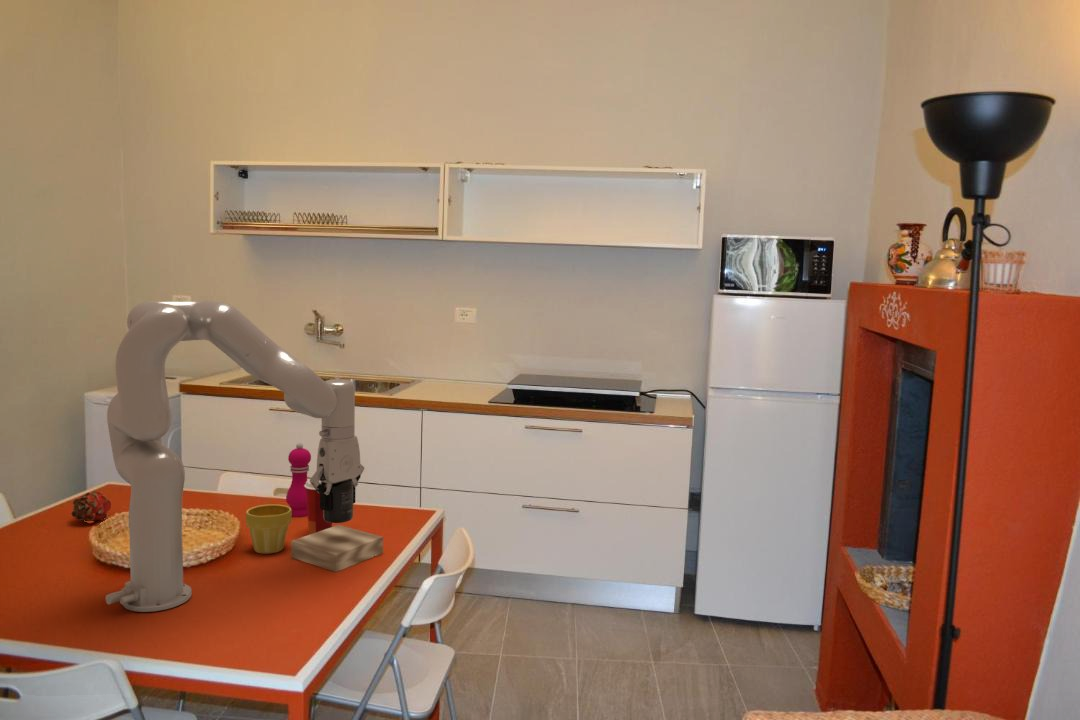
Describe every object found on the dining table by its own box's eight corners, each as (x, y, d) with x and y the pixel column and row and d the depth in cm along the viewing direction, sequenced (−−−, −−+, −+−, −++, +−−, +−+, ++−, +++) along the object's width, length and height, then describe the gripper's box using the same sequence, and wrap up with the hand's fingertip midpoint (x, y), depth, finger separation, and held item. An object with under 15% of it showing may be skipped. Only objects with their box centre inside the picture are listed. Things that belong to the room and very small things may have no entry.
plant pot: (271, 538, 193) (271, 501, 192) (300, 547, 188) (300, 508, 187) (236, 550, 185) (236, 511, 184) (266, 560, 179) (265, 519, 178)
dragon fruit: (82, 535, 196) (94, 527, 207) (113, 513, 198) (122, 506, 210) (60, 509, 195) (73, 502, 206) (91, 487, 197) (102, 482, 208)
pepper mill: (286, 510, 217) (286, 440, 214) (313, 508, 219) (313, 439, 217) (285, 518, 210) (285, 446, 208) (313, 516, 212) (313, 445, 210)
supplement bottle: (352, 513, 187) (352, 465, 186) (353, 522, 180) (353, 472, 179) (323, 515, 185) (323, 466, 184) (323, 524, 179) (323, 473, 177)
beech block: (336, 572, 174) (336, 554, 173) (291, 557, 181) (291, 540, 181) (382, 553, 186) (383, 537, 186) (339, 540, 194) (339, 524, 194)
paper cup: (339, 529, 202) (340, 477, 200) (329, 539, 194) (329, 485, 193) (311, 527, 203) (311, 475, 201) (299, 537, 195) (299, 483, 194)
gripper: (320, 440, 171) (320, 518, 173) (376, 428, 186) (375, 500, 188) (297, 436, 175) (297, 512, 177) (353, 424, 190) (353, 495, 192)
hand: (337, 505), depth 183 cm, fingers closed on supplement bottle, 6 cm apart
